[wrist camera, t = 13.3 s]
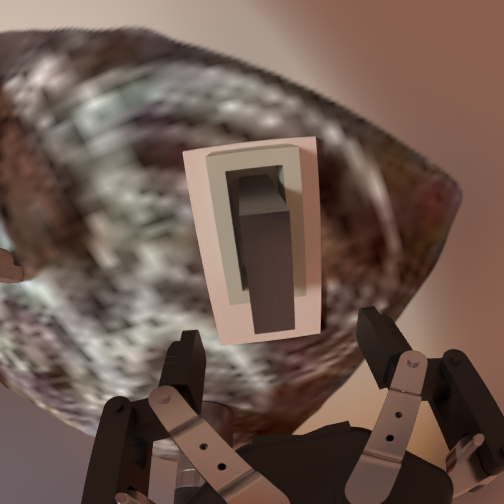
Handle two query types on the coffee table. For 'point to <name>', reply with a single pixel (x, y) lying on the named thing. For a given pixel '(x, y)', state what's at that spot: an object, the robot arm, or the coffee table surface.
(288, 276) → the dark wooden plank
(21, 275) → the wall bracket
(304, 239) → the well board
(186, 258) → the coffee table surface
